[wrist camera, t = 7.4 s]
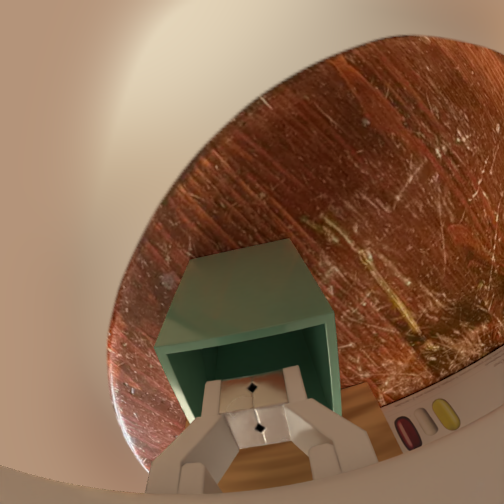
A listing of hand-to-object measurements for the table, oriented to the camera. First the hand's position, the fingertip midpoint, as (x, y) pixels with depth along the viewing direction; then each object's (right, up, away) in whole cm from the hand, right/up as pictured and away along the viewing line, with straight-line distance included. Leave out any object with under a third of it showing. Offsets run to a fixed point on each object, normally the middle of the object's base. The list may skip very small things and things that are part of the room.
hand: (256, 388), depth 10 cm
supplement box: (+22, -14, +18) cm, 31 cm away
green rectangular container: (+1, -3, +12) cm, 12 cm away
